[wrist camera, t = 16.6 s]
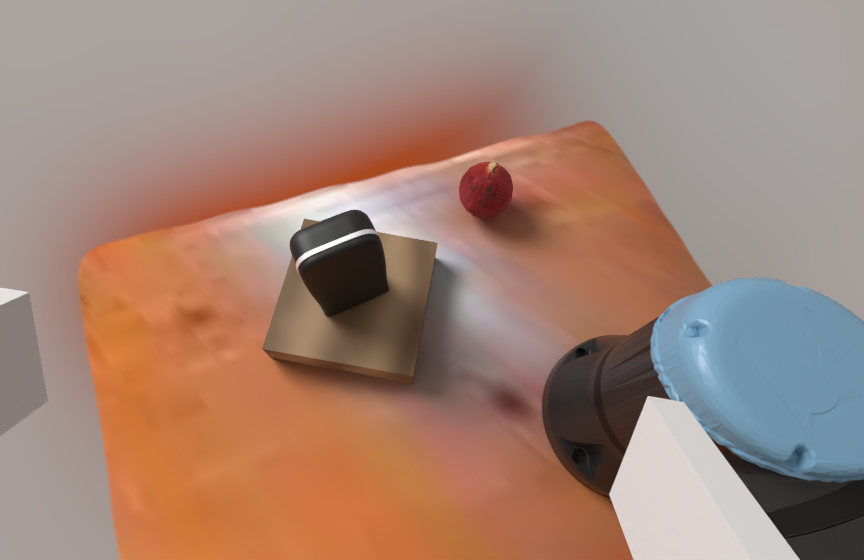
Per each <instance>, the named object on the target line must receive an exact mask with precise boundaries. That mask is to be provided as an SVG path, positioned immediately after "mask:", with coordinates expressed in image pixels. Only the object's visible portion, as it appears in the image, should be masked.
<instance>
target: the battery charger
mask: <svg viewBox="0 0 864 560" xmlns="http://www.w3.org/2000/svg"><path fill="white" fill-rule="evenodd" d="M290 250H291V253H292V256H293V259H294V261H295V264H296V269H297V272H298V274H299V276H300V278H301V280H302V282H303V284H304V285H305V287H306V288H307V290H308V291H309V292H310V294H311V295H312V296H313V297H314V299H315V300H316V301H317V302H318V304H319V306H320V307H321V309H322V312H323V313H324V314H325V316H326V317H331V316H334V315H336V314H339V313H341V312H343V311H346V310H348V309H350V308H353V307H355V306H357V305H360V304H362V303H364V302H367V301H369V300H371V299H373V298H376V297H378V296H380V295H382V294H384V293H387V292H388V291H389V286H388V280H387V271H386V260H385V254H384V249H383V244H382V241H381V238H380V236H379V234H378V232H377V231H376V230H375V228H374V226H373V224H372V222H371V221H370V219H369V217H368V216H367V215H366V214H365V213H364V212H362V211H360V210H350V211H347V212H344V213H341V214H338V215H336V216H333V217H331V218H328V219H325V220H323V221H320V222H318V223H315V224H313V225H311V226H308V227H306V228H303V229H301V230H299V231H298V232H296V233H295V234H294V235H293V236H292V238H291V240H290Z"/></svg>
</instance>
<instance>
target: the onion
mask: <svg viewBox="0 0 864 560" xmlns="http://www.w3.org/2000/svg"><path fill="white" fill-rule="evenodd" d="M512 192H513V184H512V180H511V176H510V174H509V173H508V172H507V171H506V170H505V169H504V168H503V167H502V166H500V165H499V164H498V163H496V162H493V163H492V162H483V163H479V164H476V165H474V166H472V167H470V168H469V169H468V171H467V172H466V173H465V174H464V175H463V177H462V179H461V182H460V186H459V195H460V201H461V202H462V204H463V206H464V207H465V209H466V210H467V211H468V212H470V213H471V214H472V215H474V216H477V217H481V218H487V217H493V216H496V215H497V214H499V213H500V212H502V211H503V210H504V209H505V208H506V207H507V205H508V204H509V202H510V201H511V198H512Z"/></svg>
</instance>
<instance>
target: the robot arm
mask: <svg viewBox="0 0 864 560" xmlns="http://www.w3.org/2000/svg"><path fill="white" fill-rule="evenodd" d="M47 401H48V399H47V393H46V387H45V382H44V376H43V370H42V364H41V358H40V353H39V347H38V342H37V335H36V330H35V325H34V318H33V312H32V307H31V301H30V295H29V292H24V291H18V290H11V289H5V288H0V436H1V435H2V434H4V433H5V432H6V431H8V430H9V429H11V428H12V427H13V426H15V425H16V424H17V423H19V422H20V421H22V420H23V419H24V418H26V417H27V416H28V415H30V414H31V413H32V412H34V411H35V410H37V409H38V408H39V407H41V406H42V405H43V404H45V403H46V402H47ZM542 413H543V421H544V426H545V430H546V434H547V437H548V439H549V442H550V444H551V446H552V448H553V450H554V452H555V454H556V455H557V457H558V459H559V460H560V462H561V463H562V464H563V465H564V467H565V468H566V469H567V470H568V471H569V472H570V473H571V474H572V475H573V476H574V477H575V478H576V479H577V480H578V481H580V482H581V483H582V484H584V485H585V486H587V487H588V488H590V489H591V490H593V491H595V492H597V493H599V494H602V495H604V496H607V497H610V498H611V501H612V503H613V506H614V509H615V511H616V514H617V517H618V519H619V522H620V525H621V527H622V530H623V533H624V535H625V538H626V541H627V543H628V546H629V549H630V551H631V554H632V556H633V559H634V560H864V322H863V321H862V320H861V319H860V318H859V317H857V316H856V315H855V314H854V313H852V312H851V311H850V310H848V309H847V308H845V307H844V306H842V305H841V304H839V303H837V302H836V301H834V300H832V299H830V298H829V297H827V296H824V295H822V294H820V293H818V292H816V291H813V290H811V289H808V288H805V287H796V286H791V285H788V284H787V283H785V282H783V281H780V280H776V279H769V278H742V279H734V280H729V281H726V282H722V283H719V284H716V285H714V286H712V287H710V288H708V289H706V290H704V291H702V292H700V293H697V294H694V295H690V296H687V297H685V298H682V299H680V300H678V301H677V302H675V303H673V304H672V305H670V306H669V307H668V308H667V310H666V311H665V312H664V313H662V314H661V315H660V316H659V317H658V318H656V319H654V320H653V321H651V322H650V323H648V324H646V325H645V326H643V327H642V328H640V329H638V330H637V331H635V332H633V333H632V334H630V335H628V336H627V335H607V336H600V337H596V338H593V339H590V340H587V341H585V342H583V343H581V344H579V345H578V346H576V347H575V348H573V349H572V350H571V351H569V352H568V353H567V354H565V355H564V356H563V357H562V358H561V359H560V360H559V361H558V362H557V364H556V365H555V366H554V368H553V369H552V371H551V373H550V375H549V377H548V379H547V382H546V385H545V389H544V393H543V401H542Z"/></svg>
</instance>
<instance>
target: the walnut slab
mask: <svg viewBox="0 0 864 560" xmlns="http://www.w3.org/2000/svg"><path fill="white" fill-rule="evenodd" d="M318 222H319V221H314V220H308V219H304V221H303V224H302V227H301V229H303V228H306V227H308V226H311V225H313V224H315V223H318ZM378 234H379V236H380V238H381V241H382V244H383V249H384V254H385V260H386V271H387V280H388V286H389V291H388V292H387V293H384V294H382V295H380V296H378V297H376V298H373V299H371V300H369V301H367V302H364V303H362V304H360V305H357V306H355V307H353V308H350V309H348V310H346V311H343V312H341V313H339V314H336V315H334V316H331V317H326V316H325V314H324V313H323V312H322V309H321V307H320V306H319V304H318V302H317V301H316V300H315V299H314V297H313V296H312V295H311V294H310V292H309V291H308V290H307V288H306V287H305V285H304V284H303V282H302V280H301V278H300V276H299V274H298V272H297V269H296V264H295V261H294V259H293V256H292V258H291V261H290V264H289V268H288V271H287V274H286V277H285V280H284V283H283V286H282V289H281V292H280V296H279V299H278V302H277V305H276V308H275V311H274V314H273V317H272V320H271V323H270V327H269V330H268V333H267V336H266V339H265V342H264V345H263V348H262V349H263V350H264V351H265V352H266V353H267V354H268V355H269V356H270V357H271V358H274V359H279V360H285V361H290V362H296V363H301V364H307V365H312V366H318V367H323V368H329V369H335V370H340V371H346V372H351V373H357V374H362V375H368V376H373V377H379V378H384V379H390V380H395V381H401V382H406V383H412V381H413V375H414V370H415V365H416V359H417V354H418V348H419V343H420V337H421V332H422V326H423V321H424V315H425V310H426V304H427V299H428V293H429V288H430V282H431V277H432V271H433V266H434V260H435V255H436V249H437V243H435V242H429V241H424V240H418V239H413V238H407V237H402V236H396V235H391V234H385V233H380V232H378Z"/></svg>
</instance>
